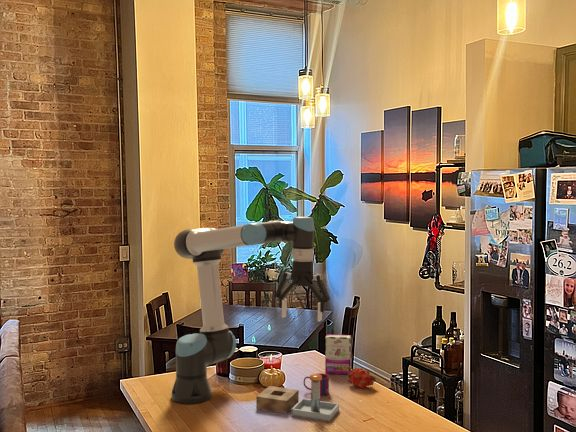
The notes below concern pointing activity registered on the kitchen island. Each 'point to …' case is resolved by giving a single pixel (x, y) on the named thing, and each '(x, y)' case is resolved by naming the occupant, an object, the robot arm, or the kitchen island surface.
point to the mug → (322, 384)
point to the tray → (325, 413)
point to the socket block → (277, 399)
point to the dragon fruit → (360, 378)
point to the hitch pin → (315, 392)
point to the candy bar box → (338, 354)
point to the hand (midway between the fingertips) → (301, 319)
